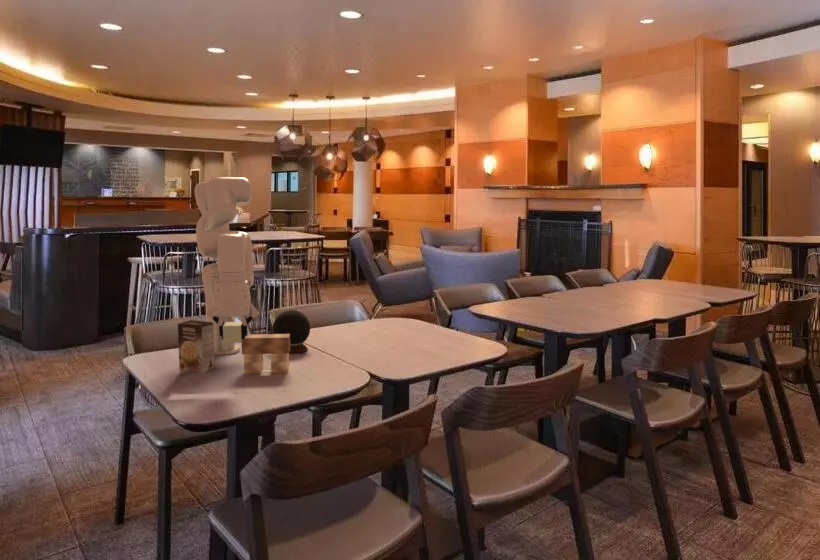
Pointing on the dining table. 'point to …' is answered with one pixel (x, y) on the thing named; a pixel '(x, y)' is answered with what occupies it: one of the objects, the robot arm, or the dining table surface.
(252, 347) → the plank
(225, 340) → the cube
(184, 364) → the coffee box
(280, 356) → the block
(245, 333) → the robot arm
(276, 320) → the black ball on stand
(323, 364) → the dining table surface
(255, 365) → the block
